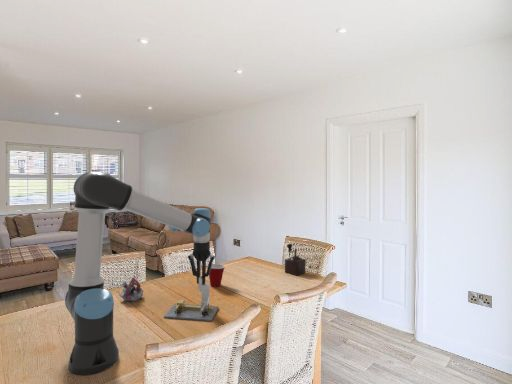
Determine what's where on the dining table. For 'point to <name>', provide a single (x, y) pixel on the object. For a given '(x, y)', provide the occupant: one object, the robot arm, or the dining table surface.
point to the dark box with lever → (294, 264)
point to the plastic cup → (216, 274)
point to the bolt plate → (191, 314)
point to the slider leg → (205, 297)
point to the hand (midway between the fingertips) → (200, 290)
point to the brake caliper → (131, 291)
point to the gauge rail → (188, 306)
